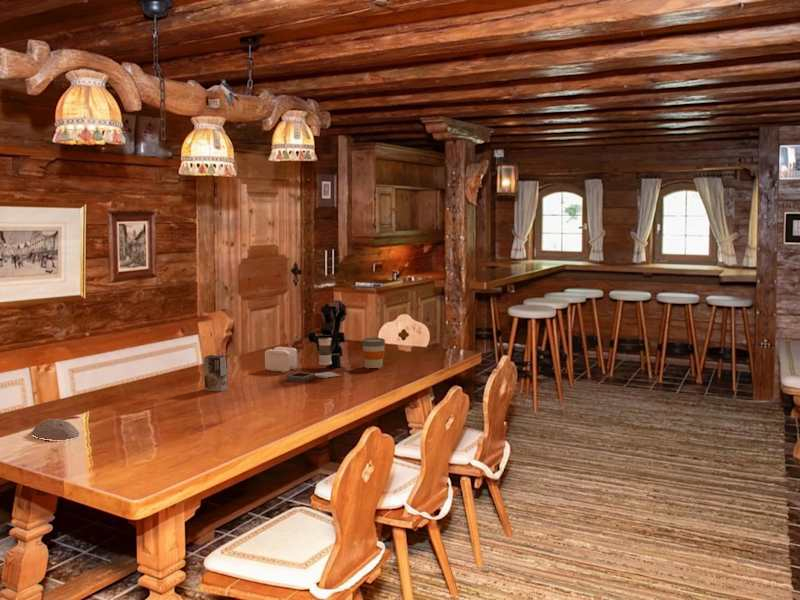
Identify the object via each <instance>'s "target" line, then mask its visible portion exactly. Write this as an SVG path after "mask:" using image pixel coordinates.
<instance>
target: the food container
mask: <svg viewBox="0 0 800 600" xmlns="http://www.w3.org/2000/svg"><path fill="white" fill-rule="evenodd" d="M79 433H80V432H79V430H78V429H77V427H75V425H73V424H72V423H71V422H69V421H65V420H63V419H60V418H52V419H51V418H46V419H45V420H42V421H39V422H38V423H37V425H36V426H35V427H34V428H33V429H32V431H31V432H30V435H31V434H32V435H34V436H36V437H38V438H44V439H52V440H66V439H71V438H75V437H77V438H79V437H80V436H79ZM78 436H79V437H78ZM75 439H76V438H75Z"/></svg>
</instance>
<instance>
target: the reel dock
mask: <svg viewBox="0 0 800 600" xmlns="http://www.w3.org/2000/svg"><path fill="white" fill-rule="evenodd" d="M315 374H316V373H312V372H311V373H310V372H301V371H300V372H299V371H297V372H293V373H292V374H287V375H286V378H285V379H286V380H289V381H288V382H293V381H298V382H297V383H304V382H305V383H307V382H309V380H310V381H312V380H311V379H313V380H315V379H316V377H315ZM314 378H315V379H314ZM306 381H307V382H306Z"/></svg>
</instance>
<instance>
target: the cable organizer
mask: <svg viewBox="0 0 800 600" xmlns="http://www.w3.org/2000/svg"><path fill="white" fill-rule="evenodd" d="M264 368H265V370H267V371H269V370H271V371H270V372H279V371H281V372H280V373H287V372H289V371H290V370H291V369H293V370H294V369H296V368H298V350H297V349H296V348H294V347H286V346H276V347H274V348H273V349H271V348H270V349H266V350H265V351H264Z"/></svg>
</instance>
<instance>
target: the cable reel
mask: <svg viewBox="0 0 800 600" xmlns="http://www.w3.org/2000/svg"><path fill="white" fill-rule="evenodd" d="M318 341H319V351H318V356H319V358H318V359H319V361H318V364H319V366H327V365H330V364H332V361H331V354H332V353H331V338H319V339H318Z"/></svg>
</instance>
